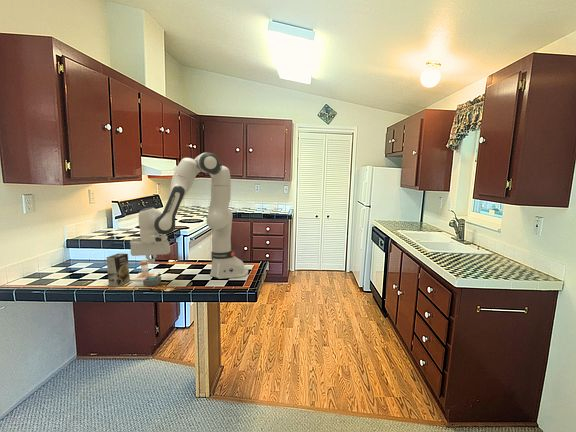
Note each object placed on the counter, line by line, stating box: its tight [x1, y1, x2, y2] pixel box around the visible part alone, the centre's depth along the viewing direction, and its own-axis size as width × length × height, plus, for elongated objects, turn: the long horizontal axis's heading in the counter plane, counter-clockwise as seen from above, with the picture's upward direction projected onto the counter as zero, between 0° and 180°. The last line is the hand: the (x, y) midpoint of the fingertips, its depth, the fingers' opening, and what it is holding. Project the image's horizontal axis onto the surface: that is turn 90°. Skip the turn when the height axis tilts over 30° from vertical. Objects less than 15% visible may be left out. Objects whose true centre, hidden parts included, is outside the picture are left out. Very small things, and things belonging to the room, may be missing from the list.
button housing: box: [142, 275, 162, 287], centre depth 171 cm, size 7×7×3 cm
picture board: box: [130, 272, 161, 282], centre depth 182 cm, size 12×12×1 cm
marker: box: [140, 259, 150, 277], centre depth 181 cm, size 4×4×9 cm
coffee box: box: [106, 253, 131, 288], centre depth 171 cm, size 9×6×16 cm
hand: (151, 262), depth 170 cm, fingers closed
